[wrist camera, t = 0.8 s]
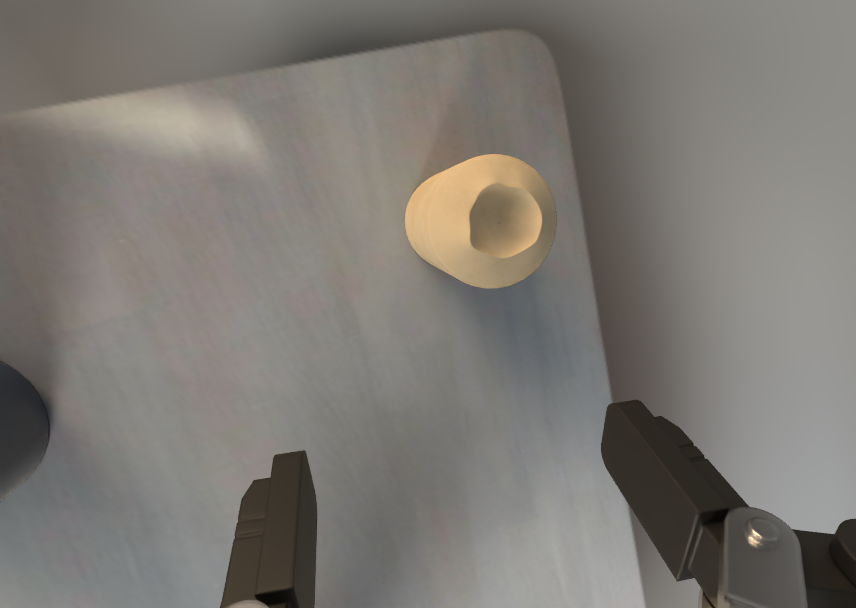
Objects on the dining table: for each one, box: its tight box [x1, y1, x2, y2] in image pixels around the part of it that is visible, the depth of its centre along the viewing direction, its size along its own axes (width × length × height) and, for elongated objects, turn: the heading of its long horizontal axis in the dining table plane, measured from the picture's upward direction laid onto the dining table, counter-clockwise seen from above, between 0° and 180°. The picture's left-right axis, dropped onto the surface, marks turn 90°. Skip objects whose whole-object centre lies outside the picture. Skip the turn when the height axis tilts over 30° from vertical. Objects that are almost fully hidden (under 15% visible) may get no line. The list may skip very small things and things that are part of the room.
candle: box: [405, 154, 557, 289], centre depth 24 cm, size 6×6×10 cm
